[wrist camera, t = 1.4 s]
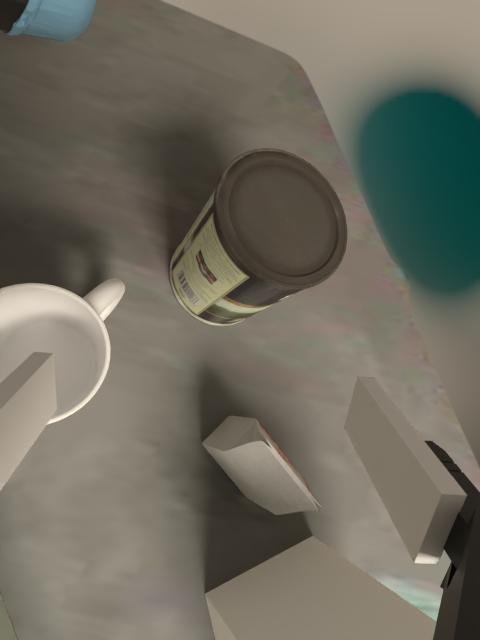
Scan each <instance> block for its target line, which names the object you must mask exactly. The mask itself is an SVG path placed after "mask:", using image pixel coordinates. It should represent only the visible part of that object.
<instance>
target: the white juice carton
mask: <svg viewBox="0 0 480 640" xmlns="http://www.w3.org/2000/svg"><path fill="white" fill-rule="evenodd" d="M201 444H202V445H203V446H204V447H205V448H206V450H207V451H208V452H209V453H210V454H211V456H212V457H213V458H214V459H215V460H216V462H217V463H218V464H219V465H220V466H221V468H222V469H223V470H224V471H225V473H226V474H227V475H228V476H229V477H230V479H231V480H232V481H233V482H234V483H235V485H236V486H237V487H238V488H239V489H240V491H241V492H242V493H243V494H244V495H245V497H246V498H248V499H250V500H251V501H253V502H255V503H256V504H258V505H260V506H261V507H263V508H265V509H267V510H268V511H270V512H272V513H273V514H275V515H281V514H288V513H294V512H301V511H318V512H319V510H318V509H317V507H316V505H315V503H316V504H317V505H319V506H320V504H319V503H318V502H317V501H316V500H315V498H314V497H313V496H312V494H311V492H310V490H309V488H308V485H307V483H306V481H305V479H304V478H303V477H302V475H301V474H300V473H299V472H298V470H297V469H296V468H295V467H294V465H293V464H292V463H291V462H290V460H289V459H288V458H287V457H286V455H285V454H284V453H283V452H282V451H281V449H280V448H279V447H278V446H277V444H276V443H275V442H274V441H273V439H272V438H271V437H270V436H269V434H268V433H267V432H266V431H265V429H264V428H263V427H262V426H261V424H260V423H259V422H258V421H257V419H256V418H249V417H240V416H231V415H229V416H228V417H227V418H226V419H225V420H224V421H223V422H222V423H221V424H220V425H219V426H218V427H217V428H216V429H215V430H214V431H213V432H212V433H211V434H210V435H209V436H208V437H207V438H206V439H205V440H204V441H203V442H202V443H201ZM320 507H321V506H320Z"/></svg>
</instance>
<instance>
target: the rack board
mask: <svg viewBox="0 0 480 640" xmlns="http://www.w3.org/2000/svg"><path fill="white" fill-rule="evenodd" d="M0 640H17V637H16V635H15V632H14V629H13V626H12V624H11V621H10V618H9V615H8V613H7V610H6V607H5V604H4V602H3V599H2V596H1V593H0Z"/></svg>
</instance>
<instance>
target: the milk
mask: <svg viewBox="0 0 480 640" xmlns="http://www.w3.org/2000/svg"><path fill="white" fill-rule="evenodd" d="M205 597H206V602H207V606H208V610H209V615H210V619H211V623H212V628H213V632H214V636H215V640H433V636H434V632H435V627H436V623H437V622H436V621H435V620H433V619H432V618H430V617H429V616H427V615H426V614H424V613H423V612H422V611H420V610H419V609H417V608H416V607H414V606H413V605H412V604H410V603H409V602H407V601H406V600H404V599H403V598H401V597H400V596H399V595H397V594H396V593H394V592H393V591H391V590H390V589H389V588H387V587H386V586H384V585H383V584H381V583H380V582H378V581H377V580H376V579H374V578H373V577H371V576H370V575H368V574H367V573H365V572H364V571H363V570H361V569H360V568H358V567H357V566H355V565H354V564H353V563H351V562H350V561H348V560H347V559H345V558H344V557H342V556H341V555H340V554H338V553H337V552H335V551H334V550H332V549H331V548H330V547H328V546H327V545H325V544H324V543H322V542H321V541H319V540H318V539H317V538H315V537H314V536H311V537H310V538H308V539H306V540H304V541H302V542H300V543H298V544H296V545H295V546H293V547H291V548H289V549H287V550H285V551H283V552H282V553H280V554H278V555H276V556H274V557H272V558H270V559H269V560H267V561H265V562H263V563H261V564H259V565H257V566H256V567H254V568H252V569H250V570H248V571H246V572H244V573H242V574H241V575H239V576H237V577H235V578H233V579H231V580H229V581H228V582H226V583H224V584H222V585H220V586H218V587H216V588H215V589H213V590H211V591H209V592H207V593H205Z"/></svg>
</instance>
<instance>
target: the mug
mask: <svg viewBox="0 0 480 640" xmlns="http://www.w3.org/2000/svg"><path fill="white" fill-rule="evenodd" d="M124 292H125V286H124V283H123V282H122V281H121V280H119V279H116V278H112V279H108V280H106V281H104V282H103V283H101V284H100V285H98V286H97V287H96V288H94V289H93V290H92V291H91V292H89V293H88V294H87V295H86V296H84V297H83V298H81V297H80V296H78V295H76V294H75V293H73V292H71V291H68V290H66V289H64V288H61V287H58V286H54V285H49V284H42V283H23V284H16V285H11V286H7V287H3V288H1V289H0V383H1V382H2V381H3V380H4V379H6V378H7V377H8V376H9V375H10V374H11V373H12V372H13V371H14V370H15V369H16V368H17V367H18V366H19V365H20V364H21V363H23V362H24V361H25V360H26V359H27V358H28V357H29V356H30V355H31V354H32V353H33V352H46V353H53V354H54V369H55V385H56V400H57V410H56V412H55V413H54V415H53V416H52V417H51V419H50V420H49V422H48V423H47V424H50V423H53V422H56V421H59V420H61V419H63V418H66V417H67V416H69V415H71V414H73V413H74V412H76V411H77V410H78V409H80V408H81V407H83V406H84V405H85V404H86V403H87V402H88V401H89V400H90V399H91V398H92V397H93V396H94V394H95V393H96V392H97V390H98V389H99V387H100V386H101V384H102V382H103V380H104V378H105V376H106V373H107V370H108V367H109V362H110V340H109V336H108V332H107V329H106V327H105V324H104V323H103V321H104V320H105V319H106V318H107V316H108V315H109V314H110V313H111V312H112V310H113V309H114V308H115V306H116V305H117V304H118V302H119V301H120V299H121V298H122V296H123V294H124Z"/></svg>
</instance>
